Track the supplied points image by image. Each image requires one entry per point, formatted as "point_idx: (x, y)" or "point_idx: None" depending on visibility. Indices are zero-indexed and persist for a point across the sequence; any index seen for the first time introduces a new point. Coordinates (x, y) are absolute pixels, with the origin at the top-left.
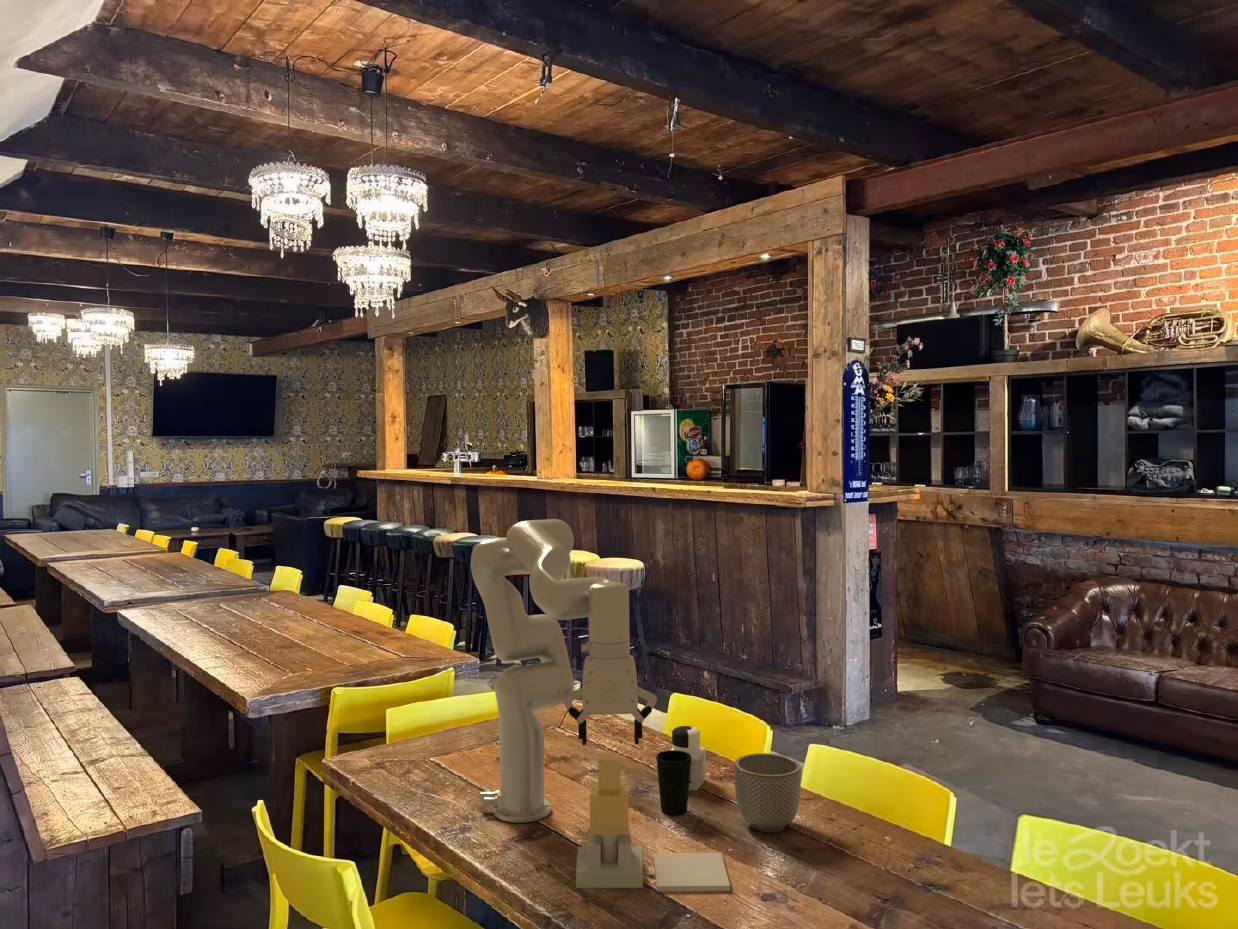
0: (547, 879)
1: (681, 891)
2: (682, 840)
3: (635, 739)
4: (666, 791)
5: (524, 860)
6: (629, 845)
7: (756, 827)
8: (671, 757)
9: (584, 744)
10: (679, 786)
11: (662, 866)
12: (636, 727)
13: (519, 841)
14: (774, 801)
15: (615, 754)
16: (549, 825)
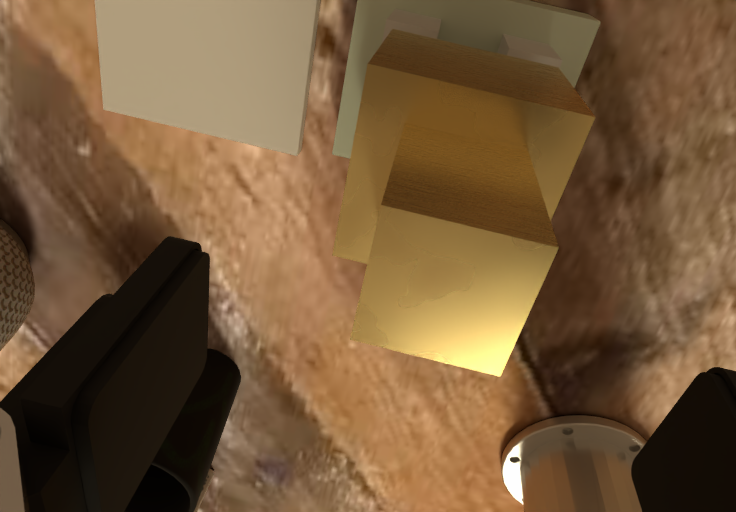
0: (655, 100)
1: None
2: (207, 230)
3: (181, 272)
4: (206, 400)
5: (674, 234)
6: (394, 21)
7: (8, 231)
8: (157, 501)
9: (729, 370)
10: None
11: (285, 63)
12: (89, 360)
13: (642, 336)
14: None
15: (388, 322)
16: (531, 389)
